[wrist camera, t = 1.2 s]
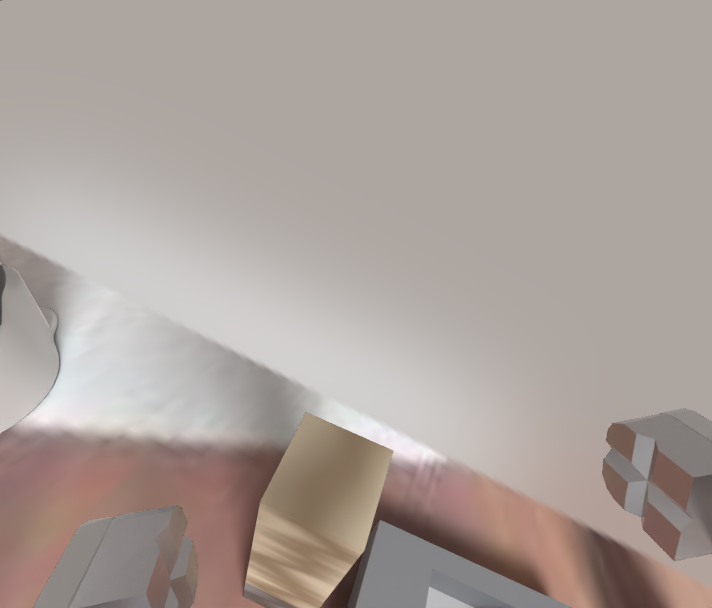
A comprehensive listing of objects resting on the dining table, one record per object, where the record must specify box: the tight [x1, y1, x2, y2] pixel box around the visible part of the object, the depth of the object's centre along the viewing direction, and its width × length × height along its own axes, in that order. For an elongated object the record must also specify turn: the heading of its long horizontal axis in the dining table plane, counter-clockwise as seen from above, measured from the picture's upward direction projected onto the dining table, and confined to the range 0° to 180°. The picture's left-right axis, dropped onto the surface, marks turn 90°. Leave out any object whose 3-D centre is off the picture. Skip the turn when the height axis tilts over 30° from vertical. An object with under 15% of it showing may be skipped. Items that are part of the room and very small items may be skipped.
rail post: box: [243, 412, 393, 608], centre depth 26 cm, size 5×5×18 cm
